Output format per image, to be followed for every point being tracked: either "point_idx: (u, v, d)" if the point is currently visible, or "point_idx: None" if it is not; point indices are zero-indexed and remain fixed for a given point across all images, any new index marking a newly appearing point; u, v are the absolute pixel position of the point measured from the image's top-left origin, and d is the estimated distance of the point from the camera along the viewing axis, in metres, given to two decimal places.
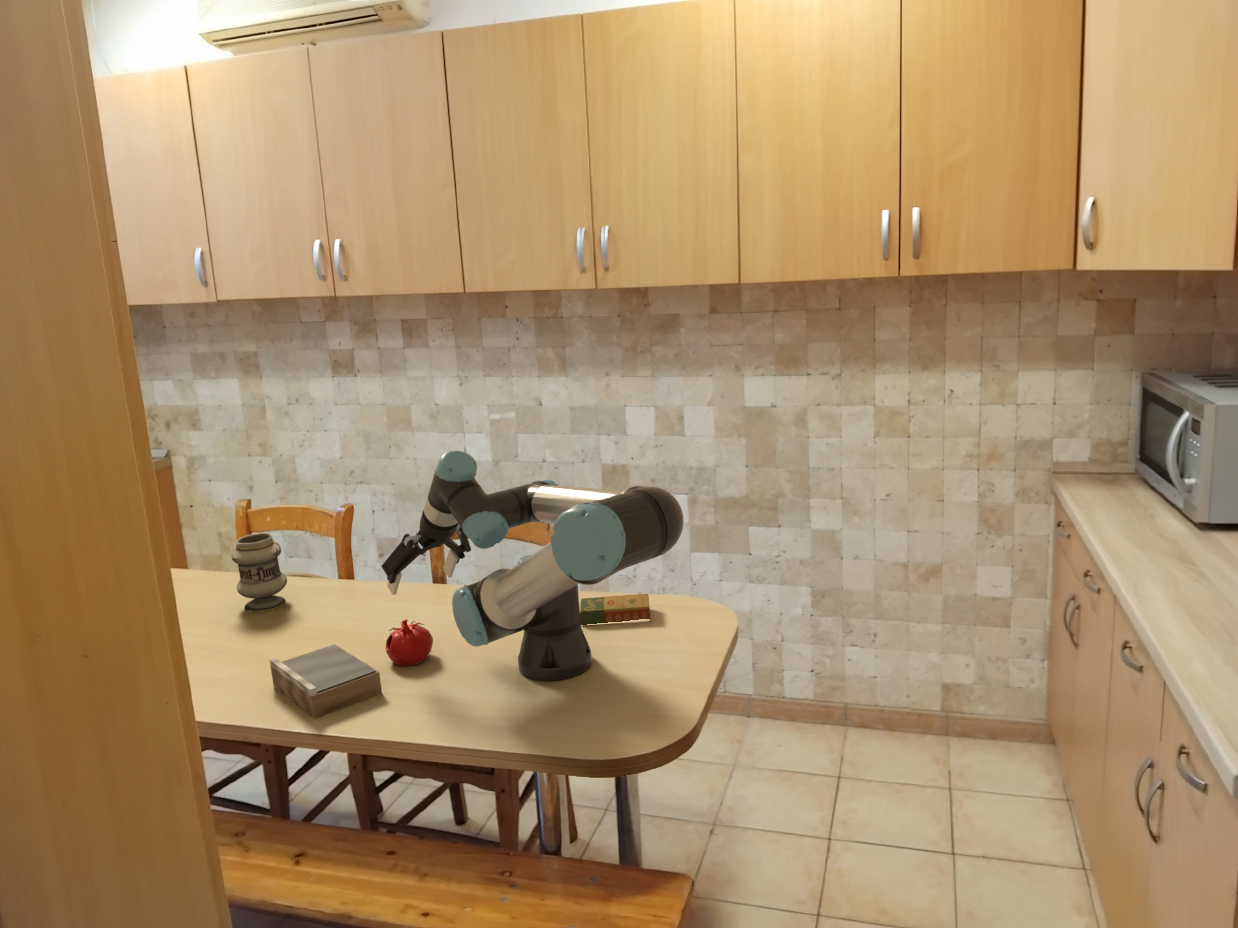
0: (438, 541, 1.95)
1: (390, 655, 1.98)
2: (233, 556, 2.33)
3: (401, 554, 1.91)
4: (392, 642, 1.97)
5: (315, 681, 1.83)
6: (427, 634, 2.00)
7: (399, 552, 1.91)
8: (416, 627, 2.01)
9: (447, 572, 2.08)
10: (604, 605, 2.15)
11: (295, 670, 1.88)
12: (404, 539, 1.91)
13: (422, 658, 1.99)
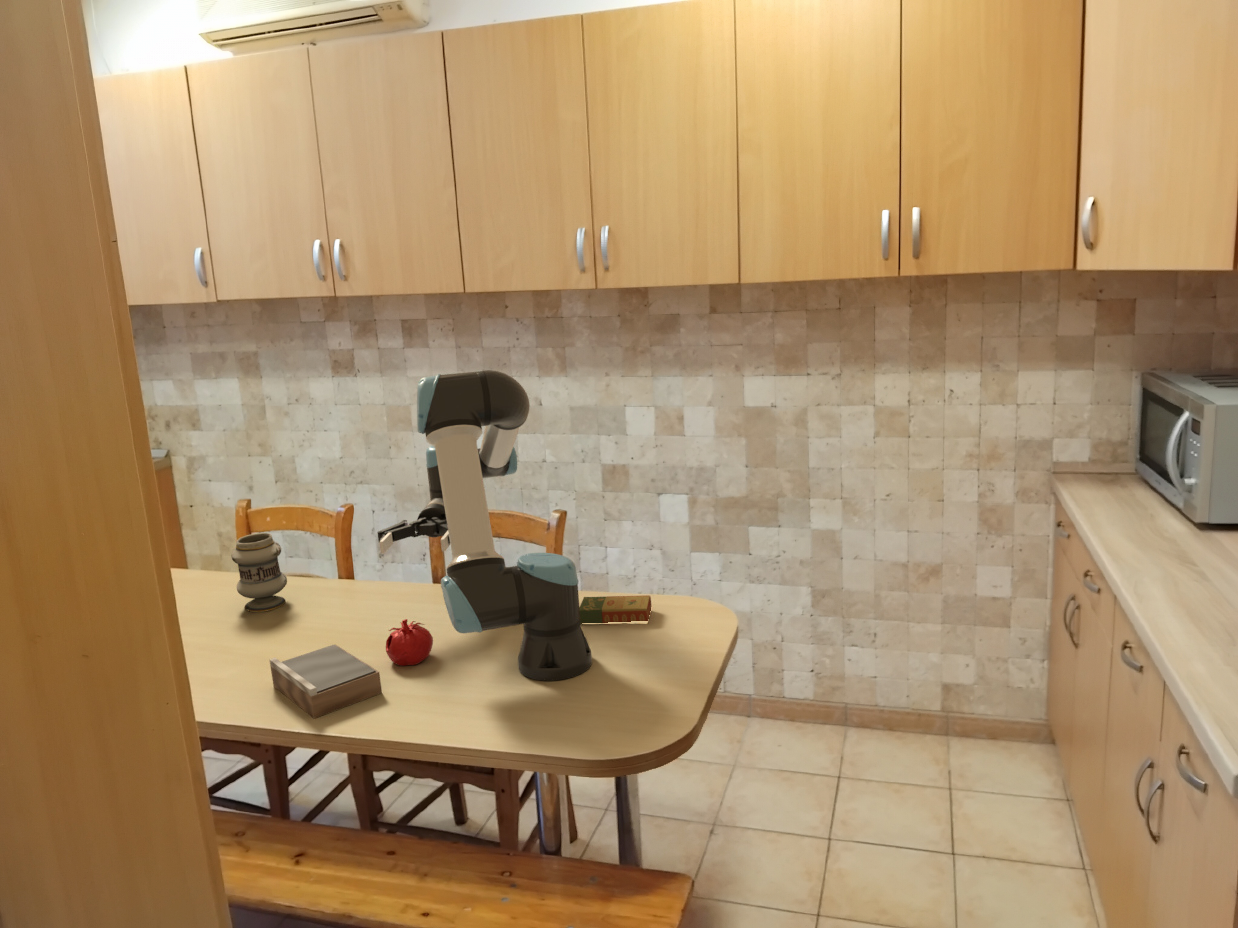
0: (430, 522, 2.20)
1: (390, 655, 1.98)
2: (233, 556, 2.33)
3: None
4: (392, 642, 1.97)
5: (315, 681, 1.83)
6: (427, 634, 2.00)
7: None
8: (416, 627, 2.01)
9: None
10: (603, 605, 2.15)
11: (295, 670, 1.88)
12: None
13: (422, 658, 1.99)
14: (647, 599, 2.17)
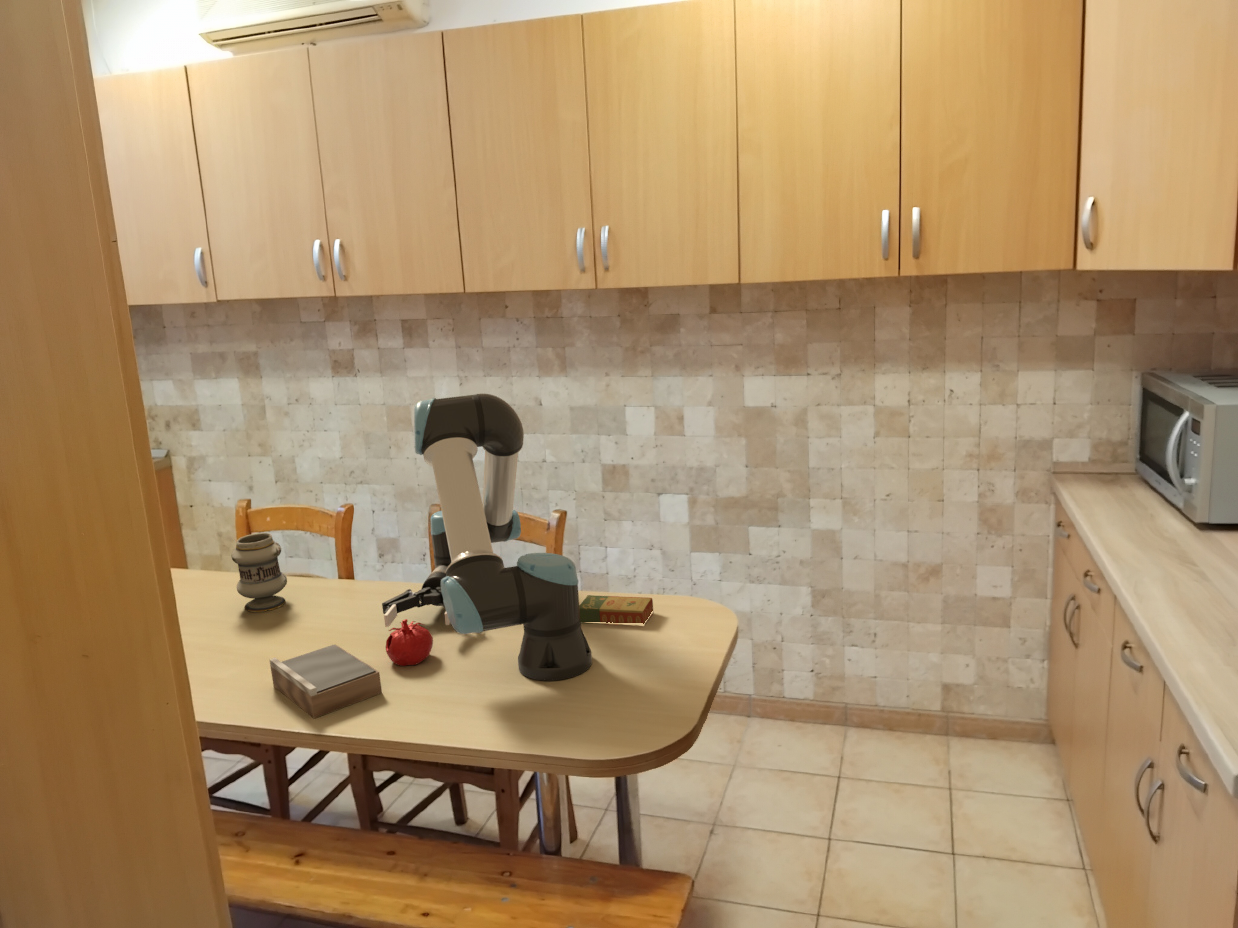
0: (434, 592, 2.21)
1: (390, 655, 1.98)
2: (233, 556, 2.33)
3: None
4: (392, 642, 1.97)
5: (315, 681, 1.83)
6: (427, 634, 2.00)
7: None
8: (416, 627, 2.01)
9: None
10: (602, 604, 2.16)
11: (295, 670, 1.88)
12: None
13: (422, 658, 1.99)
14: (647, 601, 2.16)
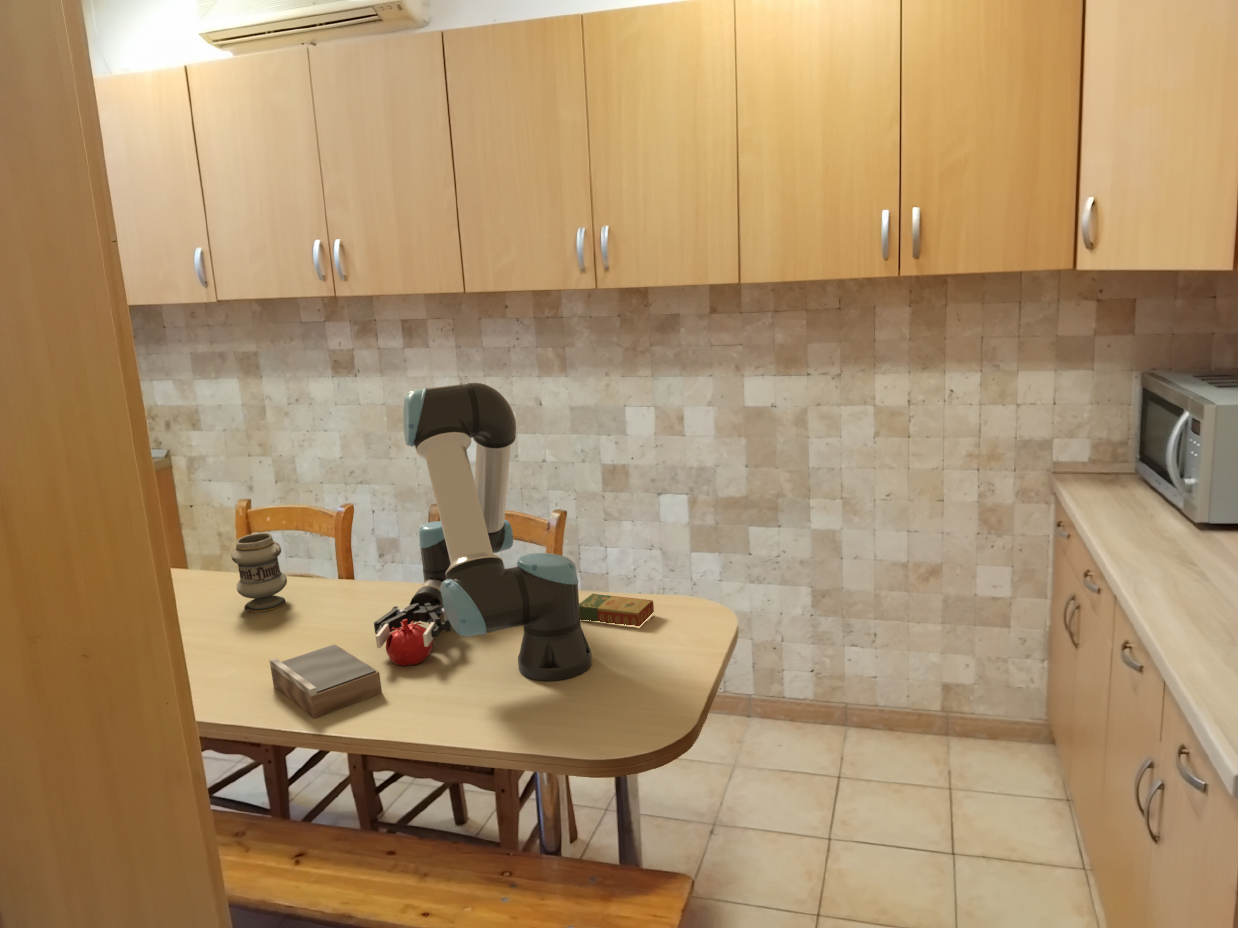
0: (423, 608, 2.11)
1: (390, 655, 1.98)
2: (233, 556, 2.33)
3: None
4: (392, 642, 1.97)
5: (315, 681, 1.83)
6: None
7: None
8: (416, 627, 2.01)
9: None
10: (602, 604, 2.16)
11: (295, 670, 1.88)
12: None
13: (422, 658, 1.99)
14: (646, 604, 2.14)
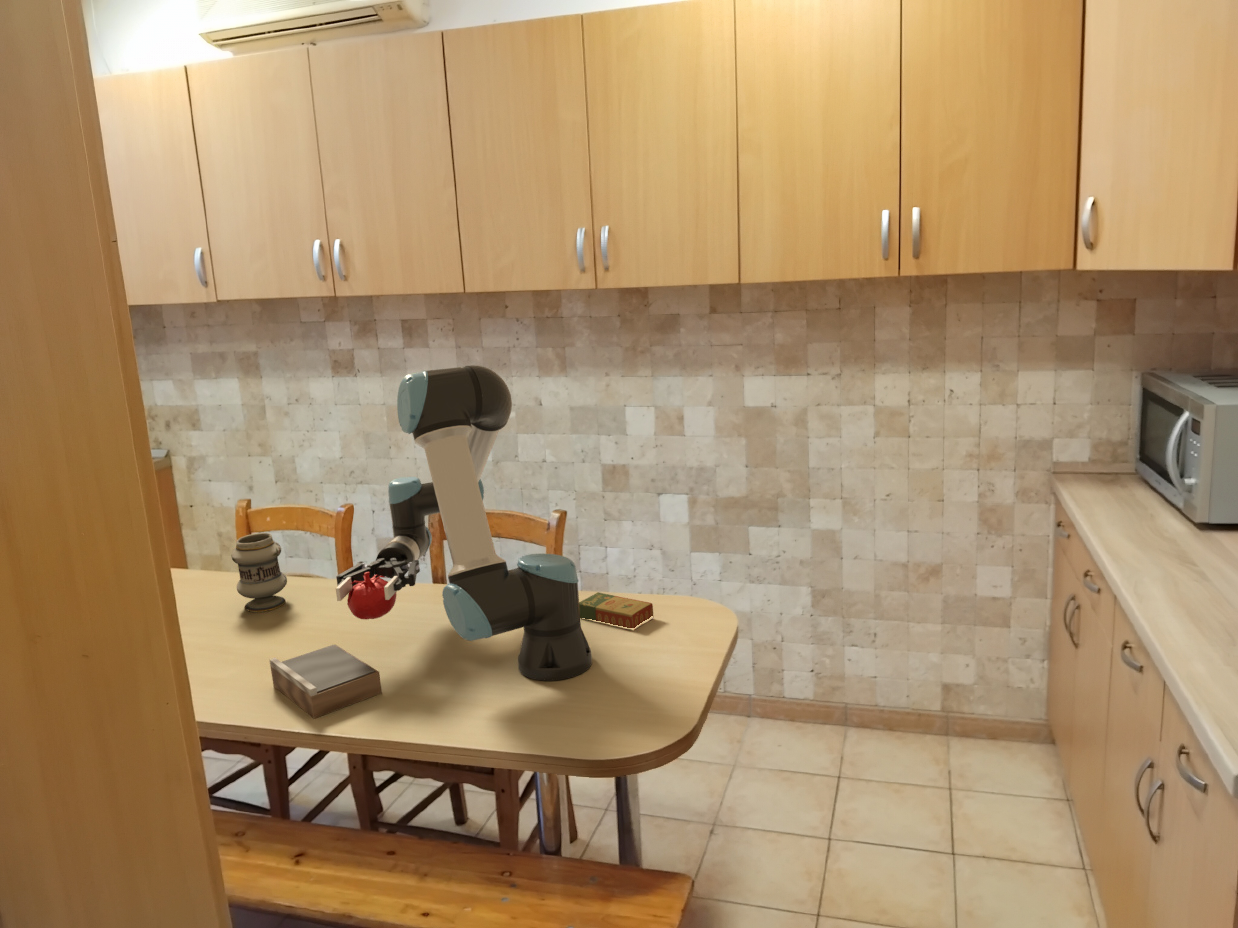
0: (388, 563, 2.05)
1: (351, 608, 1.92)
2: (233, 556, 2.33)
3: None
4: (353, 595, 1.92)
5: (315, 681, 1.83)
6: None
7: None
8: (379, 580, 1.95)
9: None
10: (601, 603, 2.16)
11: (295, 670, 1.88)
12: None
13: (384, 612, 1.93)
14: (644, 606, 2.13)
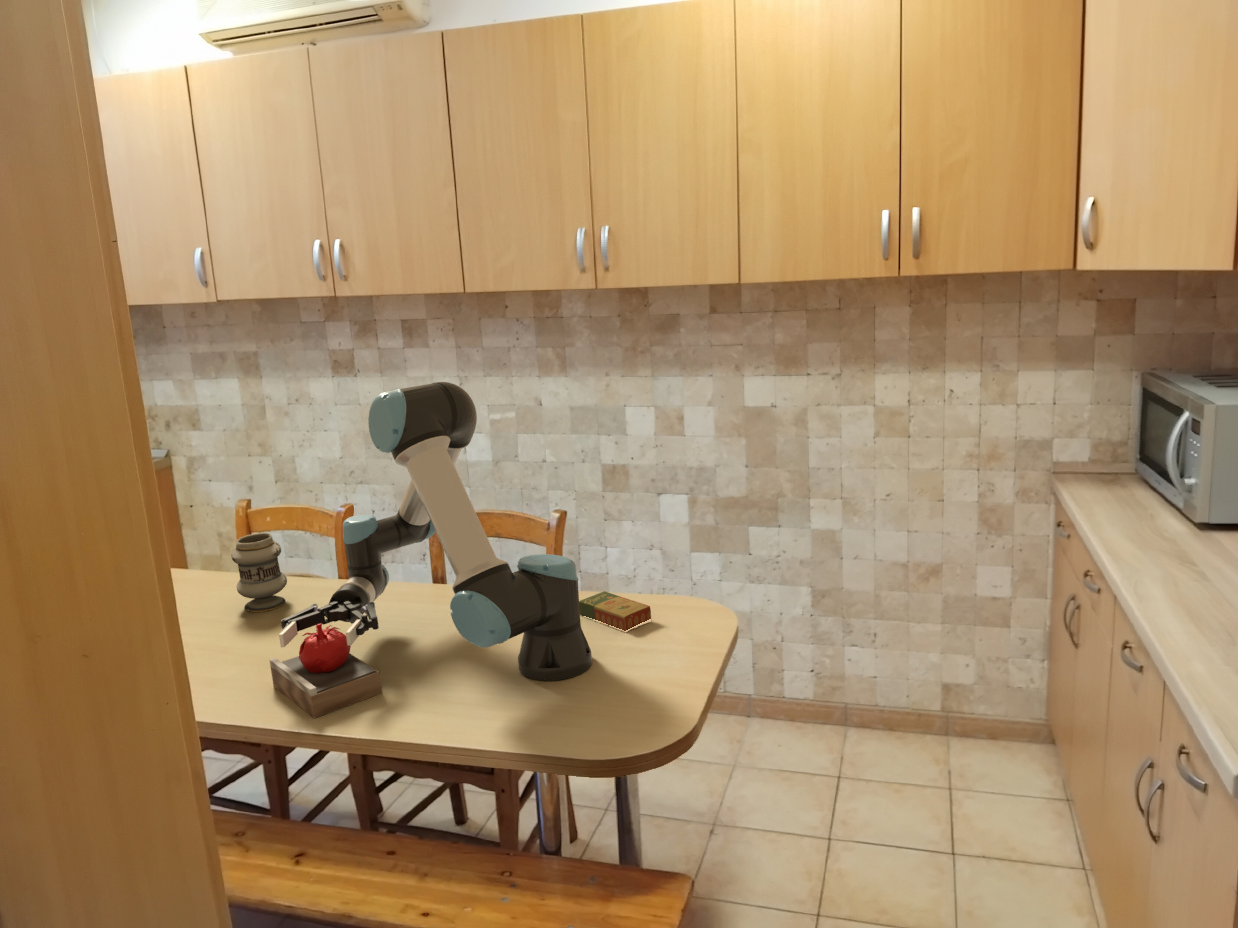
0: (342, 607, 1.98)
1: (303, 662, 1.85)
2: (233, 556, 2.33)
3: None
4: (304, 648, 1.85)
5: (315, 681, 1.83)
6: (343, 639, 1.87)
7: None
8: (332, 632, 1.88)
9: None
10: (601, 602, 2.17)
11: (295, 670, 1.88)
12: None
13: (337, 665, 1.86)
14: (640, 609, 2.12)
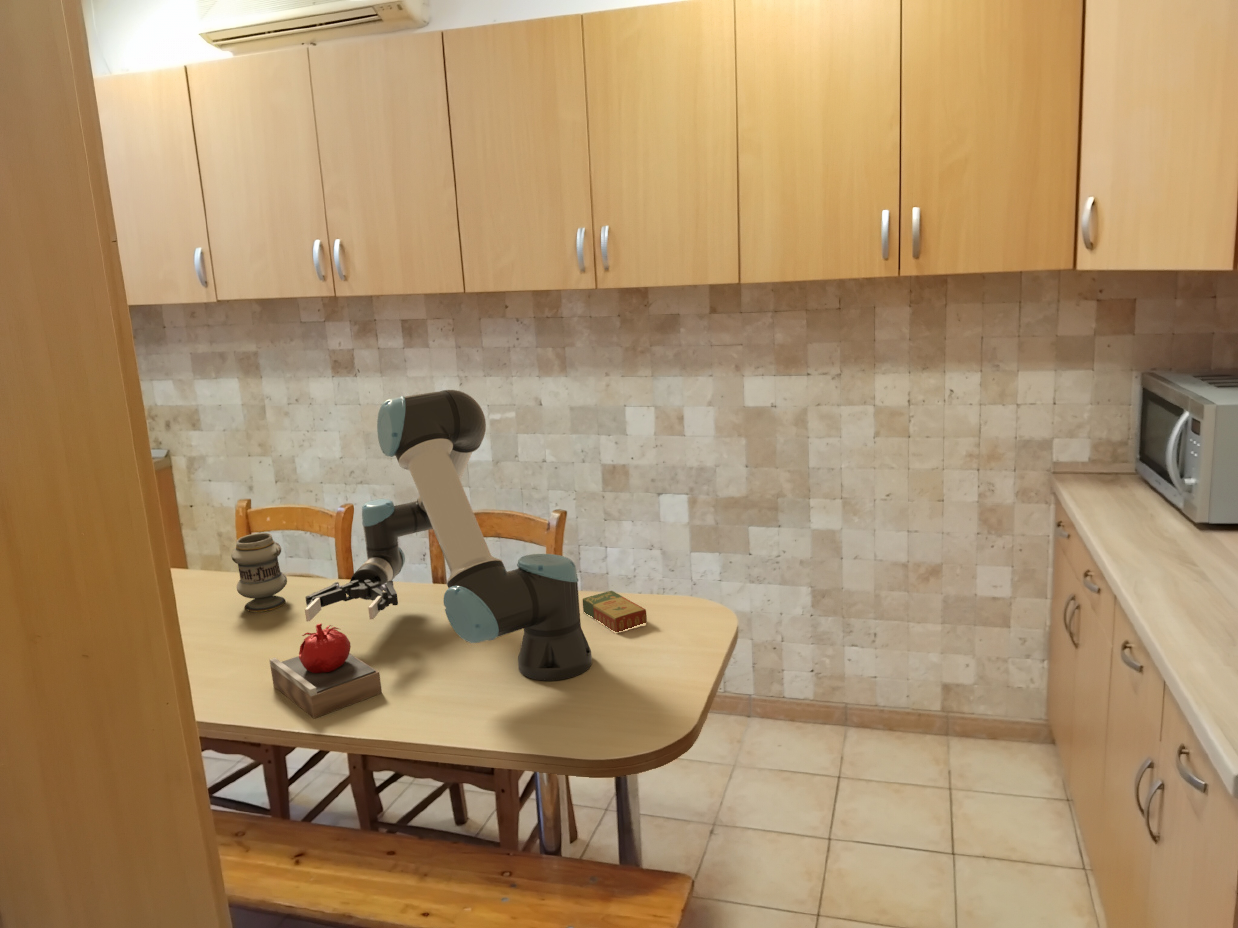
0: (362, 585, 2.10)
1: (303, 662, 1.85)
2: (233, 556, 2.33)
3: None
4: (304, 648, 1.85)
5: (315, 681, 1.83)
6: (343, 639, 1.87)
7: None
8: (332, 632, 1.88)
9: None
10: (601, 602, 2.17)
11: (295, 670, 1.88)
12: None
13: (337, 665, 1.86)
14: (634, 611, 2.10)
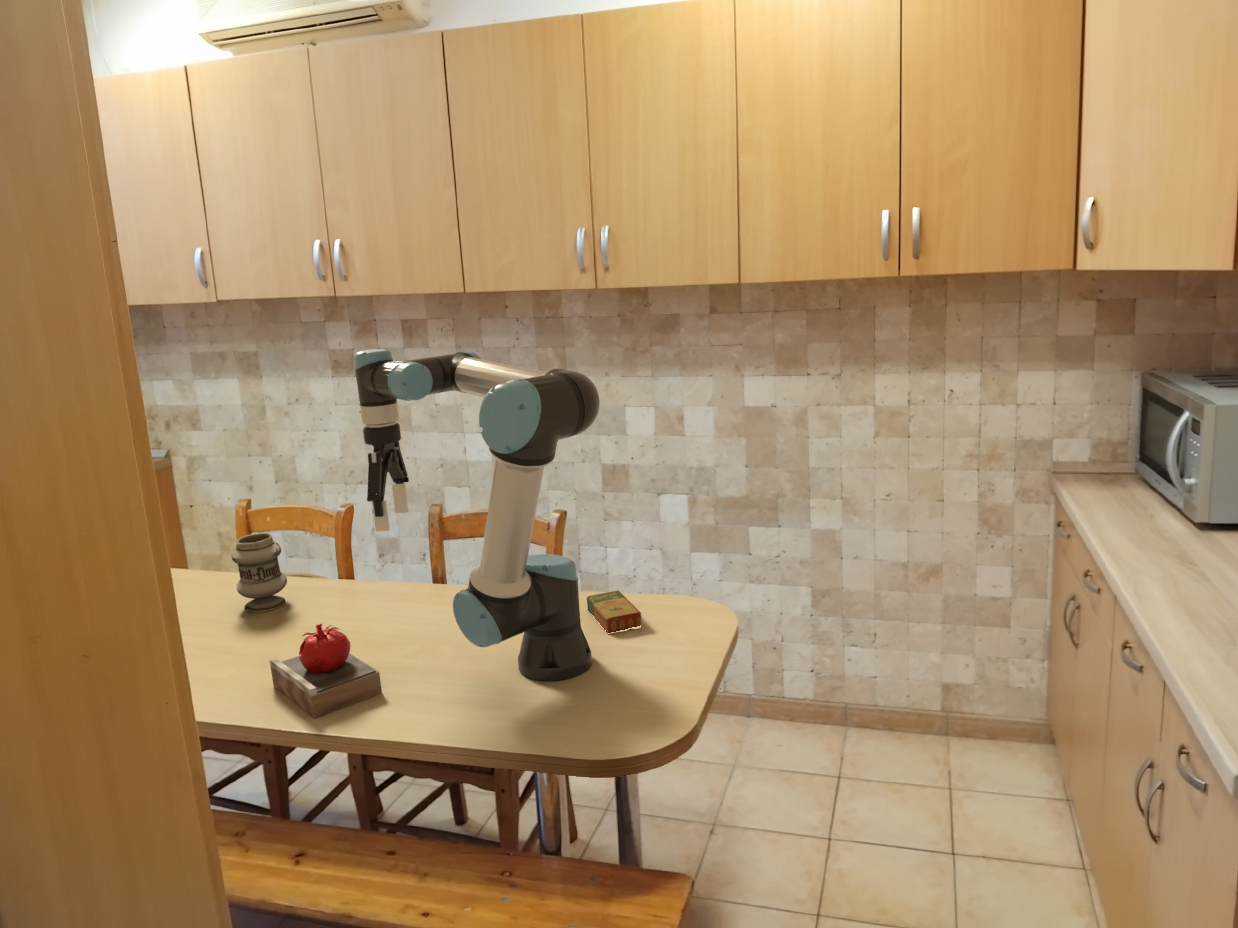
0: None
1: (303, 662, 1.85)
2: (233, 556, 2.33)
3: (378, 471, 1.92)
4: (304, 648, 1.85)
5: (315, 681, 1.83)
6: (343, 639, 1.87)
7: (375, 471, 1.92)
8: (332, 632, 1.88)
9: (402, 509, 2.09)
10: (602, 601, 2.18)
11: (295, 670, 1.88)
12: (370, 457, 1.93)
13: (337, 665, 1.86)
14: (628, 613, 2.09)
